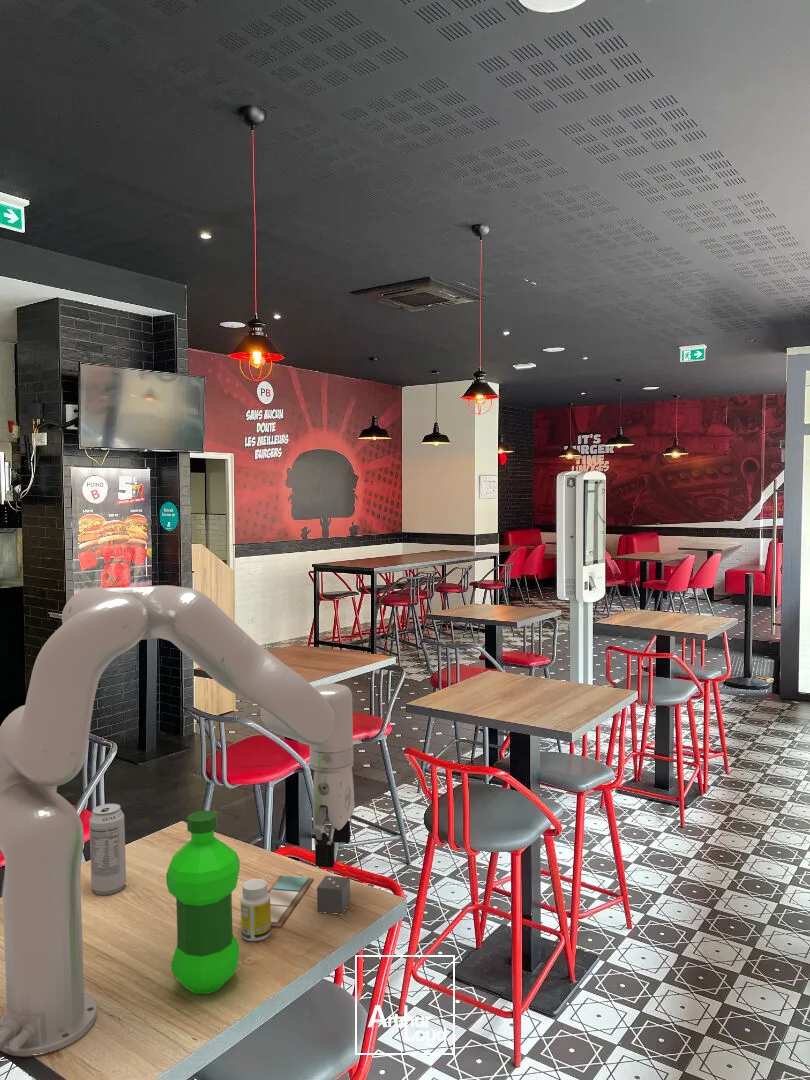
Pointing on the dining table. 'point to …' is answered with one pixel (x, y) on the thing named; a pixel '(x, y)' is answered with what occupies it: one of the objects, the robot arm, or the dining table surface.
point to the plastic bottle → (204, 907)
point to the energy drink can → (107, 849)
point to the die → (333, 894)
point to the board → (286, 897)
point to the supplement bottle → (255, 910)
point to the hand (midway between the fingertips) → (333, 853)
